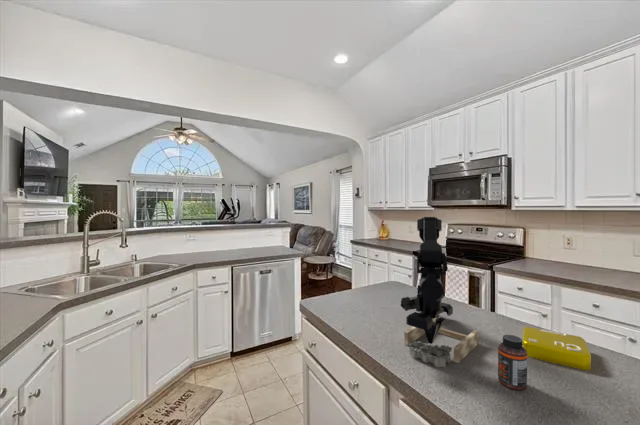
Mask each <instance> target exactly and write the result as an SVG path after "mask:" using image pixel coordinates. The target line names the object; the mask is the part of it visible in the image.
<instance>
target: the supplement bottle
mask: <svg viewBox="0 0 640 425" xmlns="http://www.w3.org/2000/svg"><path fill="white" fill-rule="evenodd" d="M497 347H498V348H497V350H498V351H497V377H498V378H497V379H498V382H499V383H501V384H502V385H503V386H504V387H507V388H509V389H510V390H511V389H512V390H516V391H523V390H526V388H527V386H528V356H527V351H526V349H525V348H524V347H523V338H521V337H519V336H517V335H513V334H504V335H502V342H500V343H499V344H498V346H497Z"/></svg>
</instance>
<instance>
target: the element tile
mask: <svg viewBox="0 0 640 425" xmlns="http://www.w3.org/2000/svg"><path fill="white" fill-rule="evenodd" d="M522 329H523V331H522V344H523V345H522V347H524V348H525V349H526V351H527V358H528V357H529V358H530V359H531V358H533V359H537V360H541V361H544V362H549V363H553V364H557V365H562V366H565V367H568V368H569V367H570V368H573V369H578V370H582V371H591V370H592V354H591V352H590V349H589V347H588V344H587V341H586V340H585V339H584V338H583V337H581V336H579V335H573V334H567V333H564V332H563V333H561V332H556V331H554V330H553V331H552V330H546V329H542V328H536V327H530V326H525V327H523V328H522Z"/></svg>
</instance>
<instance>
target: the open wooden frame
mask: <svg viewBox="0 0 640 425" xmlns="http://www.w3.org/2000/svg"><path fill="white" fill-rule="evenodd" d="M438 334H441V335H444V336H447V337H450V338H453V339H457V340H461V341H459V342H458V343H457V344H456V345H455V346H454V347H453V362H454V363H456V364H460V362H461V361H462V360H463V359H464V358H466V357H467V356H468V354H470V352H471V351H473V349H475V348H476V347H477V346H478V344H479V341H480V340H479V337H480V335H479V330H476V329H474V330H472V331H471V332H470V333H469V334H468V335H467V334H464V333H460V332H456V331H453V330H449V329H445V328H443V327H441V328H440V330H439V332H438ZM424 335H426V334H425V331H424V330H423V329H420V328H416V327H413V326H410V327H409V328H408V329H406V330H405V331H404V335H403V336H404V337H403V338H404V342H403V343H404V345H406V346H409V345H410V344H411V343H413V342H415V341H418V339H420V338H421V337H423V336H424Z"/></svg>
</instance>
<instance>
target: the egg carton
mask: <svg viewBox="0 0 640 425" xmlns="http://www.w3.org/2000/svg"><path fill="white" fill-rule="evenodd" d="M408 346H409V355H410V356H411V357H410V358H413V359H421V360H422V362H424V363H431V364H433V365H434V367H436V368H441V367H442V368H445V367H447V366H446V365H447V363H450V362H451V352H452V350H453V347H451V346H449V345H445V344H444V345H443V344H442V345H440V346H439V345H438V344H435V345H434V344H430V343H427V342H425V343H424V342H422V341H419V340H415V341H414V342H412V343H411V344H409V345H408ZM432 354H433V355H432ZM435 355H436V356H437V357H436V356H435Z"/></svg>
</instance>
